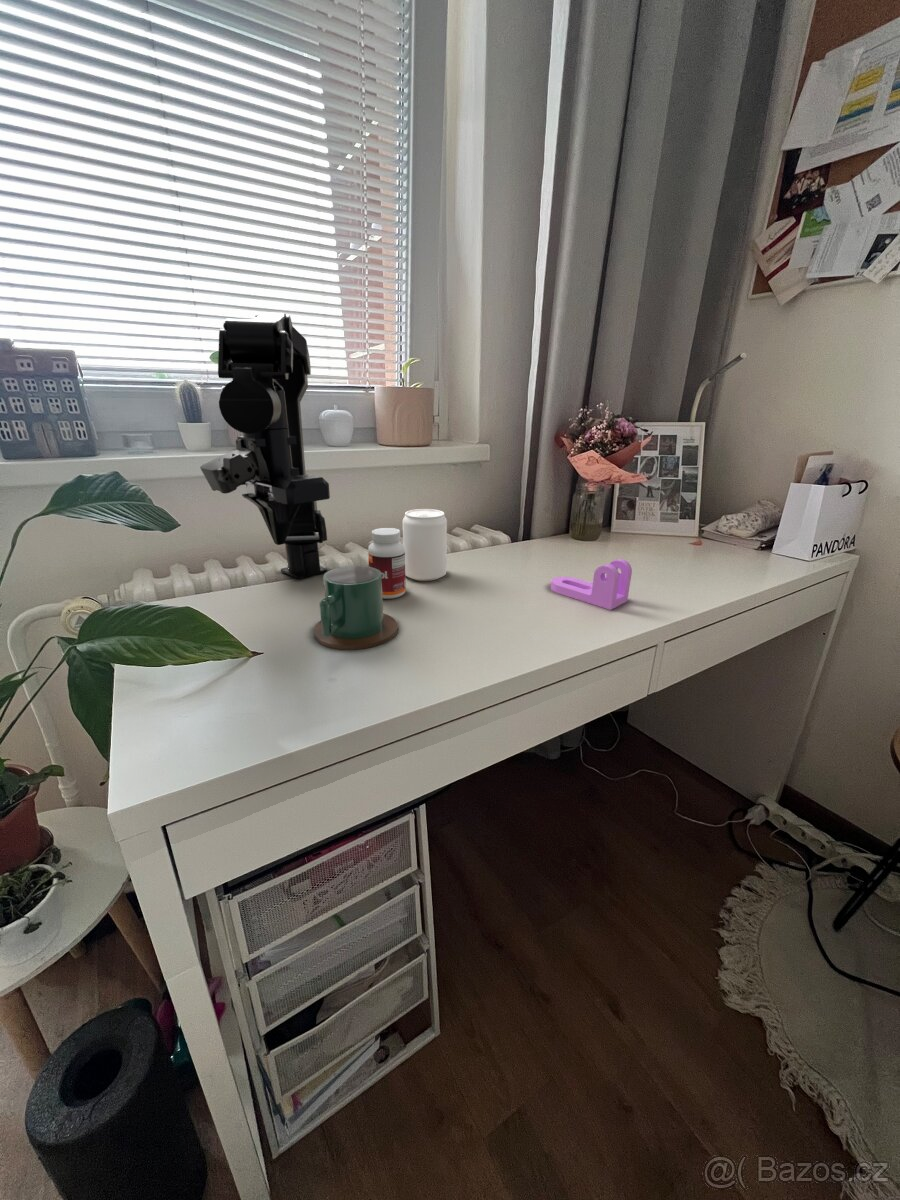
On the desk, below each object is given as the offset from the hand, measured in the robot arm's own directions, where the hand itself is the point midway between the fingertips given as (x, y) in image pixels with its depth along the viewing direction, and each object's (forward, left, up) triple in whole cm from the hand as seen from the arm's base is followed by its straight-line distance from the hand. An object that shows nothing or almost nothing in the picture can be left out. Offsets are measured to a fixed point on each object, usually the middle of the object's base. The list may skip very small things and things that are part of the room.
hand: (279, 544), depth 72 cm
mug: (+11, +3, -11) cm, 16 cm away
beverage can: (0, +29, -12) cm, 31 cm away
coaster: (+10, +5, -12) cm, 16 cm away
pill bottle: (+2, +18, -12) cm, 22 cm away
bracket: (+27, +41, -12) cm, 51 cm away
